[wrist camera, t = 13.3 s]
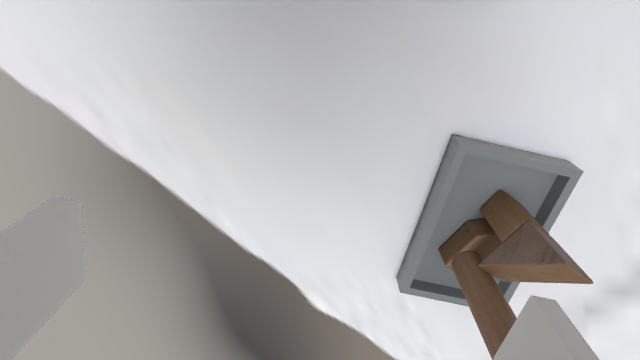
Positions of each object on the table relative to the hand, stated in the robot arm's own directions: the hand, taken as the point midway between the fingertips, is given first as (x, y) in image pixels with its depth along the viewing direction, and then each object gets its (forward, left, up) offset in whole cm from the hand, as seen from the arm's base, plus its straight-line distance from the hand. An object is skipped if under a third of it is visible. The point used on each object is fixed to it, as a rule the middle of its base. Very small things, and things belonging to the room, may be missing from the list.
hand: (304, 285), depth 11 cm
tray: (+13, +22, -33) cm, 42 cm away
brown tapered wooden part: (+13, +22, -32) cm, 41 cm away
